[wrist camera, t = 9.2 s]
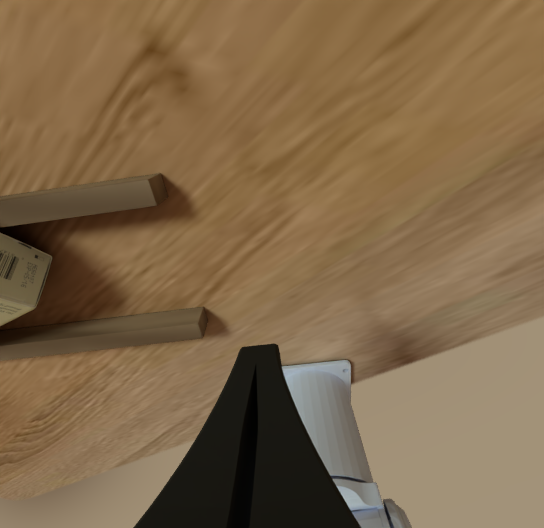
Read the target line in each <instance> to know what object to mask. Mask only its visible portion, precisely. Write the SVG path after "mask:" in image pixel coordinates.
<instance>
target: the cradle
mask: <svg viewBox="0 0 544 528" xmlns="http://www.w3.org/2000/svg"><path fill="white" fill-rule="evenodd" d="M167 197H168V195H167V192H166V189H165V186H164V182H163V179H162V176H161V173H158V174H152V175H145V176H138V177H131V178H124V179H117V180H111V181H104V182H97V183H90V184H83V185H76V186H69V187H63V188H56V189H49V190H42V191H35V192H28V193H22V194H15V195H8V196H1V197H0V227H8V226H15V225H22V224H29V223H36V222H43V221H51V220H58V219H65V218H72V217H79V216H86V215H94V214H101V213H108V212H115V211H122V210H129V209H137V208H144V207H151V206H157V205H158V204H160V203H161V202H162V201H164V200H165V199H166V198H167ZM207 323H208V320H207V317H206V314H205V310H204V307H199V308H190V309H182V310H173V311H165V312H156V313H148V314H139V315H131V316H122V317H114V318H105V319H97V320H88V321H80V322H71V323H63V324H54V325H45V326H37V327H28V328H20V329H11V330H3V331H0V361H4V360H13V359H22V358H31V357H40V356H49V355H58V354H67V353H76V352H85V351H94V350H103V349H112V348H121V347H130V346H139V345H148V344H157V343H166V342H175V341H184V340H193V339H202V338H203V336H204V333H205V329H206V326H207Z"/></svg>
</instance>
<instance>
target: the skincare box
mask: <svg viewBox="0 0 544 528" xmlns="http://www.w3.org/2000/svg"><path fill="white" fill-rule="evenodd" d="M51 261H52V256H50V255H48V254H46V253H44V252H42V251H40V250H38V249H36V248H34V247H32V246H30V245H27V244H25V243H23V242H21V241H18V240H16V239H14V238H11V237H9V236H7V235H4V234H2V233H0V326H2V325H4V324H6V323H8V322H10V321H12V320H14V319H16V318H18V317H20V316H22V315H24V314H26V313H28V312H30V311H32V310H34V309H35V308H36V307H37V304H38V301H39V299H40V296H41V293H42V290H43V287H44V284H45V281H46V278H47V275H48V272H49V268H50V265H51Z"/></svg>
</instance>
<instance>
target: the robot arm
mask: <svg viewBox="0 0 544 528" xmlns="http://www.w3.org/2000/svg"><path fill="white" fill-rule="evenodd" d="M383 504H384V507H383ZM384 509H385V510H384ZM134 528H412V527H411V524H410V522H409V520H408V518H407V516H406V514H405V512H404V511H403V510H402V509H401V508H400V507H399V506H398V505H396V504H395V502H394V501H393V500H392V499H384V500H383V503H382V500H381V496H380V493H379V490H378V486H377V483H375V482H373V479H372V476H371V472H370V469H369V465H368V462H367V458H366V455H365V452H364V448H363V444H362V441H361V437H360V434H359V430H358V427H357V424H356V420H355V417H354V413H353V410H352V406H351V364H350V362H349V361H348V360H340V361H330V362H320V363H311V364H301V365H291V366H282V365H281V359H280V353H279V347H278V345H276V344H267V345H257V346H248V347H242V348H241V349H240V351H239V354H238V357H237V359H236V362H235V364H234V366H233V369H232V371H231V373H230V376H229V378H228V380H227V382H226V384H225V386H224V388H223V390H222V392H221V394H220V396H219V398H218V400H217V402H216V404H215V406H214V408H213V410H212V412H211V413H210V415H209V417H208V419H207V421H206V422H205V424H204V426H203V428H202V430H201V431H200V433H199V435H198V436H197V438H196V440H195V441H194V443H193V445H192V446H191V448H190V449H189V451H188V453H187V454H186V456H185V457H184V459H183V460H182V462H181V464H180V465H179V466H178V468H177V469H176V471H175V472H174V474H173V475H172V476H171V478H170V479H169V481H168V482H167V484H166V485H165V487H164V488H163V490H162V491H161V492H160V494H159V495H158V496H157V498H156V499H155V501H154V502H153V503H152V505H151V506H150V507H149V509H148V510H147V511H146V512H145V514H144V515H143V516H142V518H141V519H140V520H139V521H138V523H137V524H136V525H135V527H134Z"/></svg>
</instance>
